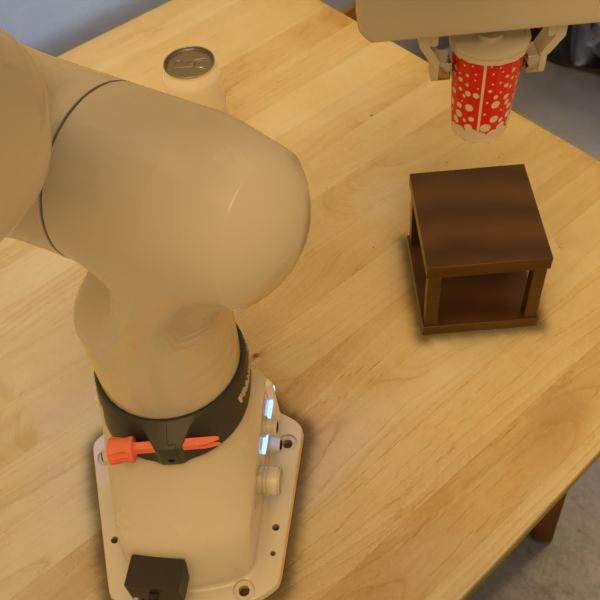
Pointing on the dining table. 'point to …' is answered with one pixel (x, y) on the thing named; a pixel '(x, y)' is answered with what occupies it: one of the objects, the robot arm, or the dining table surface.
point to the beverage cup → (485, 82)
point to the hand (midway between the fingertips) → (485, 71)
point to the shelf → (476, 249)
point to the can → (194, 77)
